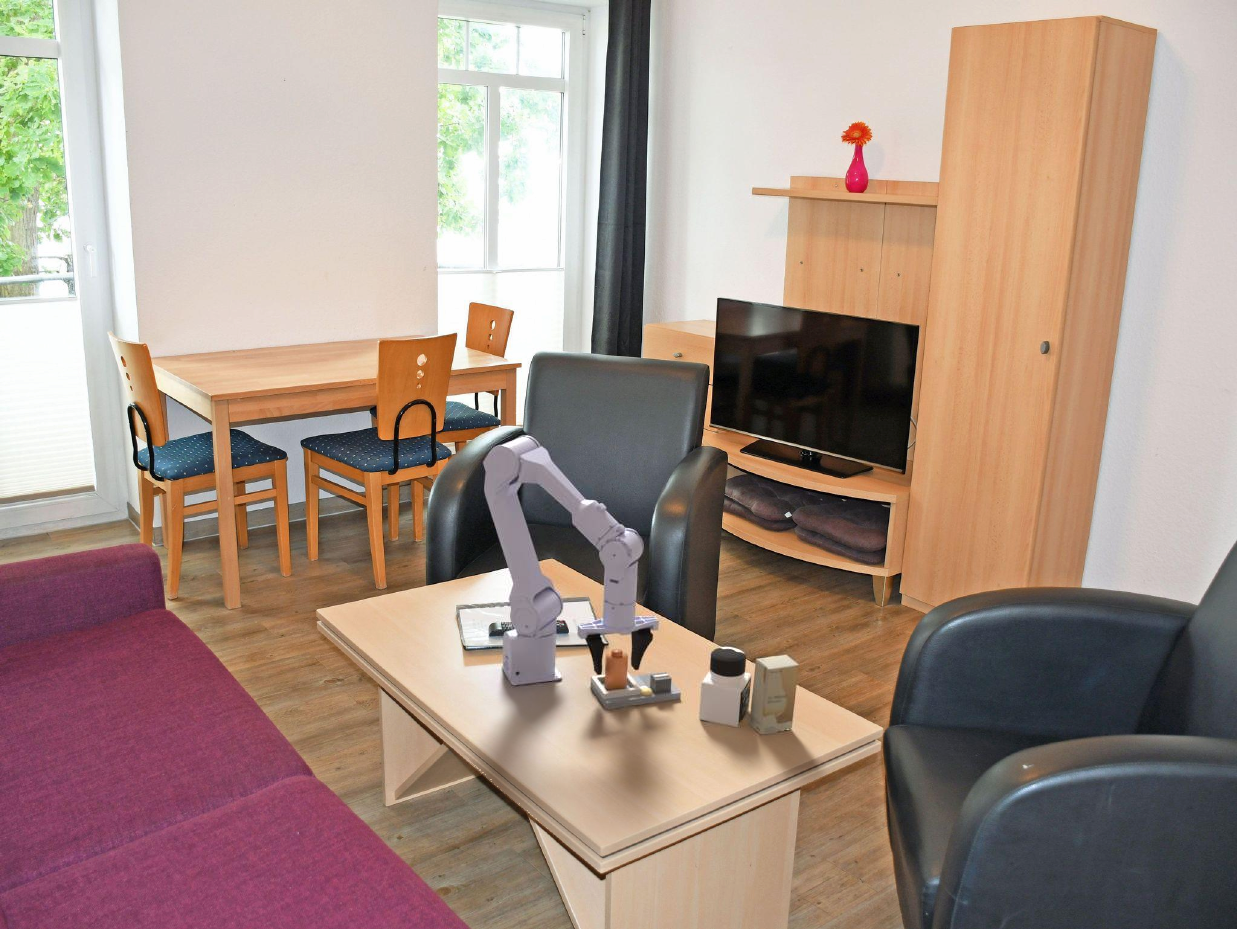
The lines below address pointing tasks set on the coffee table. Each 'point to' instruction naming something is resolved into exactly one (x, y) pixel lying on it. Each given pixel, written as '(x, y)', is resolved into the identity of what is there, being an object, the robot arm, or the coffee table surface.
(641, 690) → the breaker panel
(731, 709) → the medicine bottle
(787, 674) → the skincare box
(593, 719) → the coffee table surface
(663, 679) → the block
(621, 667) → the orange bottle
